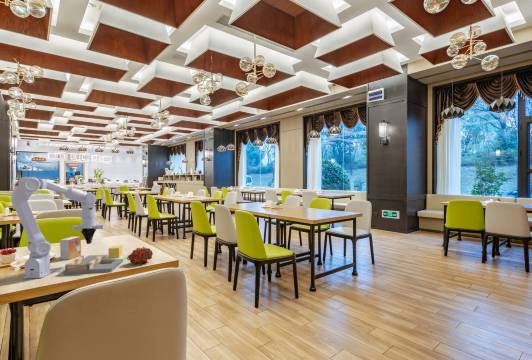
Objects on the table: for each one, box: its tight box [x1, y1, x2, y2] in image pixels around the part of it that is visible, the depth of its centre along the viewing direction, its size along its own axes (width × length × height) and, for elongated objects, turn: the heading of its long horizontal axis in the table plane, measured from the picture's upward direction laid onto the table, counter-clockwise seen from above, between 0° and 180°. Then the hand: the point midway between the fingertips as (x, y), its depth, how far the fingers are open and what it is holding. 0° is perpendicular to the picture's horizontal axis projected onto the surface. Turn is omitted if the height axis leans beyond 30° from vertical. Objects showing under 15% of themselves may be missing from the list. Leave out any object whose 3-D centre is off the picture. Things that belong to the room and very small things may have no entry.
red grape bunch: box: [126, 246, 154, 265], centre depth 147 cm, size 8×8×12 cm
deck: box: [63, 253, 130, 275], centre depth 145 cm, size 24×20×2 cm
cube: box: [108, 245, 123, 258], centre depth 153 cm, size 5×5×5 cm
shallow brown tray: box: [64, 254, 104, 271], centre depth 140 cm, size 15×10×2 cm, turn 7°
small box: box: [59, 236, 82, 260], centre depth 158 cm, size 8×6×10 cm
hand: (89, 243), depth 149 cm, fingers closed
